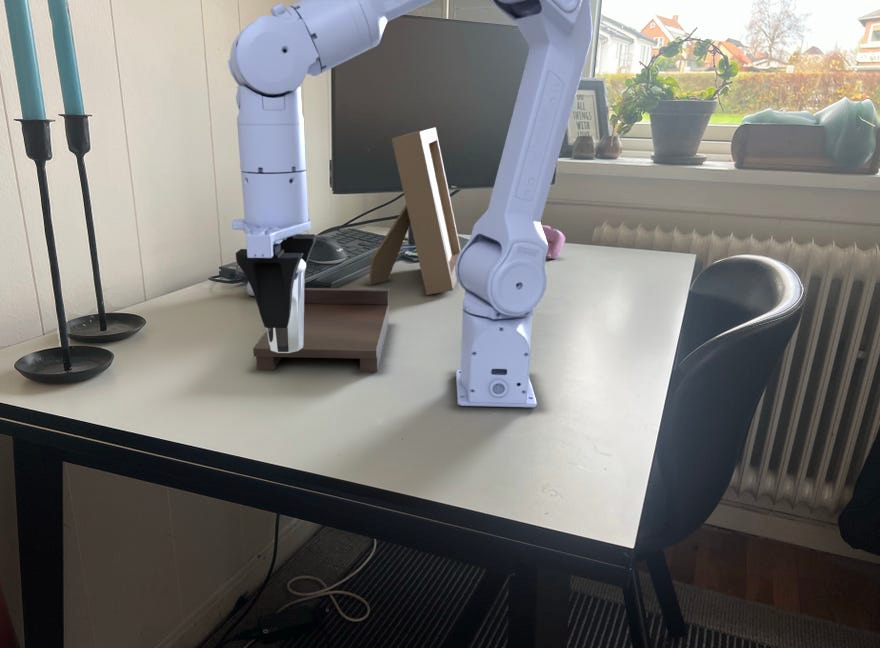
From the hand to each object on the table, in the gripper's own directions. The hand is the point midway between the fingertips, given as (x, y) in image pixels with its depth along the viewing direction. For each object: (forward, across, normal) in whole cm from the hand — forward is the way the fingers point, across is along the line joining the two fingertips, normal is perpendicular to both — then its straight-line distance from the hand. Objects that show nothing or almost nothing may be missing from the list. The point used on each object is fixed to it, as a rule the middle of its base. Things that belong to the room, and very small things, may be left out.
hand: (282, 318), depth 67 cm
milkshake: (+3, 0, 0) cm, 3 cm away
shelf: (+10, -21, +1) cm, 23 cm away
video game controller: (+10, -80, +35) cm, 88 cm away
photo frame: (+10, -58, +11) cm, 60 cm away
